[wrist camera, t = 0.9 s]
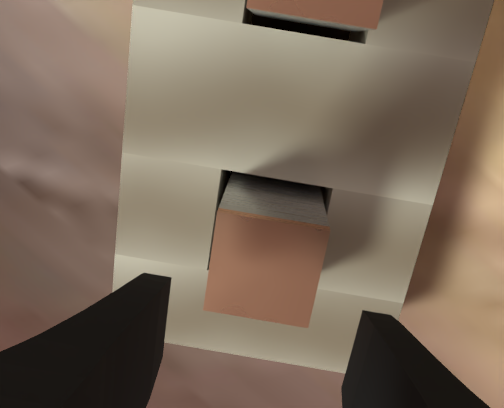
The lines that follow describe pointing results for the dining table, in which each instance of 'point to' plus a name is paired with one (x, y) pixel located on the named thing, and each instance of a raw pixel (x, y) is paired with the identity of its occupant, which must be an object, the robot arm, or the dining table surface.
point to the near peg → (322, 12)
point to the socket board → (289, 154)
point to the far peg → (267, 250)
